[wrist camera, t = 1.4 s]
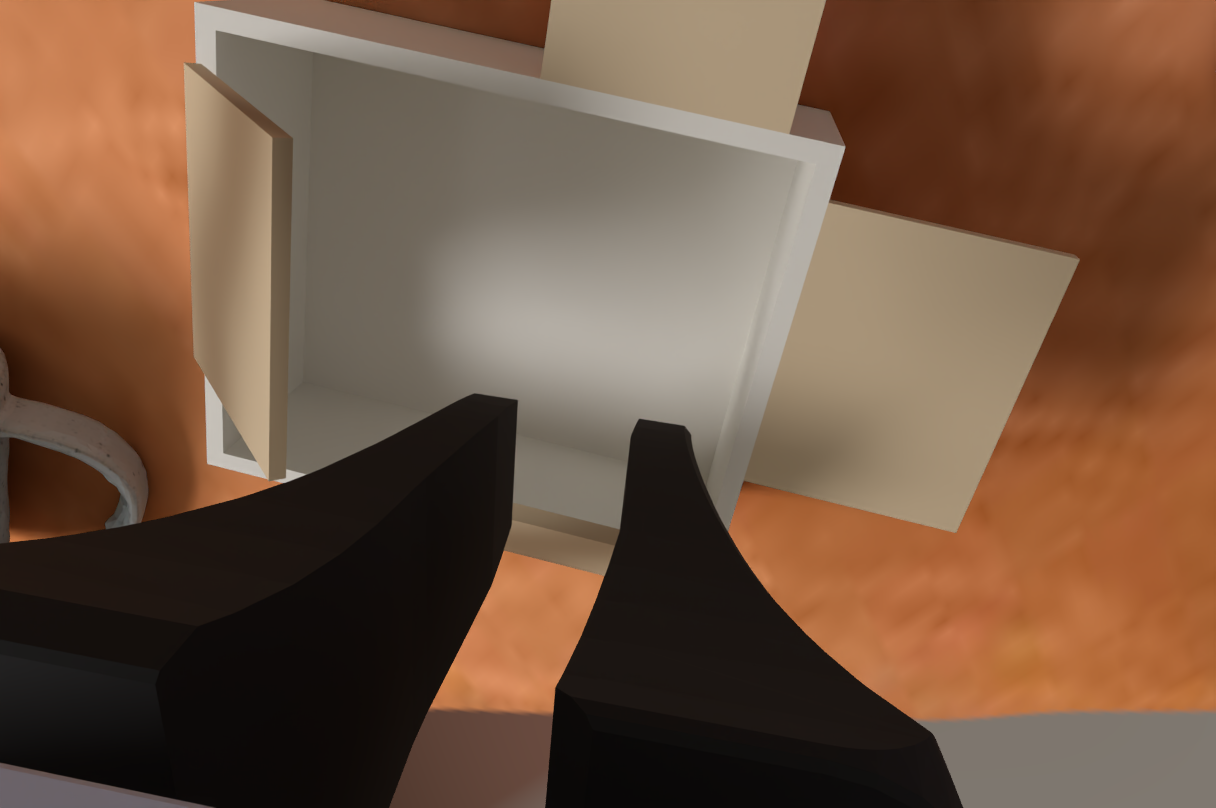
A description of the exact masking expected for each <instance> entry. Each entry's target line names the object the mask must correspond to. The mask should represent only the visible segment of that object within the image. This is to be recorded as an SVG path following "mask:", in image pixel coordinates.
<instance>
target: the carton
mask: <svg viewBox="0 0 1216 808" xmlns="http://www.w3.org/2000/svg"><path fill="white" fill-rule="evenodd" d="M825 2H826V0H551V7H550V14H549V21H548V28H547V34H546V41H545V48H539V47H535V46H530V45H526V44H521V43H517V42H512V41H508V40H503V39H499V38H494V37H489V36H485V35H480V34H476V33H471V32H467V31H462V30H458V29H453V28H449V27H444V26H439V25H435V24H430V23H426V22H421V21H417V20H412V19H408V18H403V17H399V16H394V15H389V14H385V13H380V12H376V11H371V10H367V9H362V8H358V7H353V6H349V5H344V4H339V3H335V2H330V1H326V0H221V1H204V2H194V8H195V44H196V63H198V64H202V65H203V66H205V67H206V68H207V69H208V70H210V71H211V72H212V73H213V74H215V75H216V76H217V77H218V78H219V79H221V80H222V81H223V82H224V83H226V84H227V85H228V86H229V87H231V88H232V89H233V90H234V91H235V92H237V93H238V94H239V95H240V96H242V97H243V98H244V99H245V100H247V101H248V102H249V103H250V104H252V105H253V106H254V107H255V108H256V109H258V110H259V111H260V112H261V113H263V114H264V115H265V116H266V117H268V118H269V119H270V120H271V121H272V122H274V123H275V124H276V125H277V126H279V127H280V128H281V129H282V130H284V131H285V132H286V133H287V134H288V135H290V136H291V137H292V138H293V169H292V217H291V264H290V312H289V359H288V407H287V454H286V478H284V479H279V480H273V481H277V482H281V483H286V482H289V481H291V480H294V479H296V478H299V477H302V476H304V475H307V474H309V473H312V472H314V471H317V470H319V469H322V468H324V467H326V466H328V465H330V464H333V463H335V462H337V461H339V460H341V459H343V458H346V457H348V456H350V455H352V454H354V453H356V452H359V451H361V450H363V449H365V448H367V447H369V446H372V445H374V444H376V443H378V442H380V441H382V440H384V439H386V438H388V437H390V436H392V435H394V434H396V433H397V432H399V431H401V430H403V429H405V428H407V427H409V426H411V425H413V424H415V423H417V422H418V421H420V420H422V419H424V418H426V417H428V416H430V415H432V414H433V413H435V412H437V411H439V410H441V409H443V408H445V407H446V406H448V405H450V404H452V403H454V402H456V401H458V400H460V399H462V398H464V397H466V396H469V395H471V394H474V393H477V394H483V395H490V396H496V397H503V398H509V399H516V400H518V409H517V429H516V449H515V469H514V490H513V503H517V504H521V505H525V506H529V507H533V508H537V509H541V510H545V511H549V512H553V513H557V514H561V515H565V516H569V517H573V518H577V519H581V520H585V521H589V522H592V523H596V524H600V525H604V526H608V527H612V528H616V529H620V524H621V515H622V507H623V498H624V490H625V481H626V472H627V464H628V455H629V447H630V438H631V434H632V432H633V430H634V427H635V425H636V423H637V421H638V419H645V420H652V421H658V422H664V423H671V424H677V425H684V426H685V427H686V428H687V430H688V431H689V432H690V434H691V440H692V446H693V451H694V455H695V458H696V461H697V464H698V467H699V470H700V473H701V476H702V478H703V481H704V484H705V486H706V488H707V490H708V493H709V495H710V497H711V499H712V501H713V504H714V506H715V508H716V510H717V512H718V514H719V516H720V518H721V520H722V522H723V524H724V526H725V528H726V529H727V531H728V529H729V526H730V523H731V520H732V516H733V513H734V510H735V507H736V503H737V500H738V497H739V494H740V490H741V487H742V484H743V481H747V482H751V483H755V484H759V485H763V486H767V487H771V488H775V489H779V490H783V491H787V492H792V493H796V494H800V495H804V496H808V497H812V498H816V499H820V500H824V501H828V502H832V503H836V504H840V505H845V506H849V507H853V508H857V509H861V510H865V511H869V512H873V513H877V514H881V515H885V516H889V517H893V518H897V519H902V520H906V521H910V522H914V523H918V524H922V525H926V526H930V527H934V528H938V529H942V530H946V531H950V532H955V533H956V532H957V530H958V527H959V525H960V523H961V521H962V519H963V516H964V514H965V512H966V510H967V508H968V505H969V503H970V501H971V499H972V497H973V494H974V492H975V490H976V488H977V486H978V483H979V481H980V479H981V477H982V475H983V472H984V470H985V468H986V466H987V464H988V461H989V459H990V457H991V455H992V452H993V450H994V448H995V446H996V444H997V441H998V439H999V437H1000V435H1001V433H1002V430H1003V428H1004V426H1005V424H1006V422H1007V419H1008V417H1009V415H1010V413H1011V411H1012V408H1013V406H1014V404H1015V402H1016V400H1017V397H1018V395H1019V393H1020V391H1021V389H1022V386H1023V384H1024V382H1025V380H1026V377H1027V375H1028V373H1029V371H1030V369H1031V366H1032V364H1033V362H1034V360H1035V358H1036V355H1037V353H1038V351H1039V349H1040V347H1041V344H1042V342H1043V340H1044V338H1045V336H1046V333H1047V331H1048V329H1049V327H1050V325H1051V322H1052V320H1053V318H1054V316H1055V314H1056V311H1057V309H1058V307H1059V305H1060V302H1061V300H1062V298H1063V296H1064V294H1065V291H1066V289H1067V287H1068V285H1069V283H1070V280H1071V278H1072V276H1073V274H1074V272H1075V269H1076V267H1077V265H1078V263H1079V261H1080V259H1079V258H1078V257H1077V256H1076V255H1074V254H1070V253H1065V252H1061V251H1056V250H1052V249H1047V248H1043V247H1039V246H1034V245H1030V244H1025V243H1021V242H1016V241H1012V240H1007V239H1003V238H999V237H994V236H990V235H985V234H981V233H976V232H972V231H968V230H963V229H959V228H954V227H950V226H945V225H941V224H937V223H932V222H928V221H923V220H919V219H914V218H910V217H906V216H901V215H897V214H892V213H888V212H883V211H879V210H875V209H870V208H866V207H861V206H857V205H852V204H848V203H844V202H839V201H835V200H830V196H831V193H832V190H833V186H834V183H835V180H836V177H837V173H838V170H839V167H840V164H841V160H842V157H843V154H844V151H845V147H846V146H845V144H844V142H843V140H842V137H841V135H840V133H839V131H838V129H837V126H836V124H835V122H834V120H833V117H832V115H831V113H830V111H826V110H821V109H817V108H812V107H808V106H803V105H798V100H799V97H800V93H801V89H802V86H803V82H804V79H805V75H806V71H807V68H808V64H809V60H810V57H811V53H812V50H813V46H814V42H815V39H816V35H817V31H818V28H819V24H820V20H821V17H822V13H823V10H824V6H825ZM205 405H206V441H207V464H210V465H214V466H218V467H222V468H226V469H230V470H234V471H238V472H242V473H246V474H250V475H253V476H257V477H261V478H265V479H267V478H266V476H265V474H264V473H263V471H262V469H261V468H260V466H259V464H258V463H257V461H256V459H255V458H254V456H253V454H252V453H251V451H250V449H249V448H248V446H247V444H246V443H245V441H244V439H243V438H242V436H241V434H240V433H239V431H238V429H237V428H236V426H235V424H234V423H233V421H232V419H231V418H230V416H229V414H228V413H227V411H226V409H225V408H224V406H223V404H222V403H221V401H220V399H219V398H218V396H217V394H216V393H215V391H214V389H213V388H212V386H211V385H210V383H209V381H208V380H207V378H206V376H205Z"/></svg>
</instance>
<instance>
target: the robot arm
mask: <svg viewBox="0 0 1216 808" xmlns="http://www.w3.org/2000/svg"><path fill="white" fill-rule="evenodd" d="M517 409H518V400H516V399H509V398H503V397H496V396H490V395H483V394H477V393H474V394H471V395H469V396H466V397H464V398H462V399H460V400H458V401H456V402H454V403H452V404H450V405H448V406H446V407H445V408H443V409H441V410H439V411H437V412H435V413H433V414H432V415H430V416H428V417H426V418H424V419H422V420H420V421H418V422H417V423H415V424H413V425H411V426H409V427H407V428H405V429H403V430H401V431H399V432H397V433H396V434H394V435H392V436H390V437H388V438H386V439H384V440H382V441H380V442H378V443H376V444H374V445H372V446H369V447H367V448H365V449H363V450H361V451H359V452H356V453H354V454H352V455H350V456H348V457H346V458H343V459H341V460H339V461H337V462H335V463H333V464H330V465H328V466H326V467H324V468H322V469H319V470H317V471H314V472H312V473H309V474H307V475H304V476H302V477H299V478H296V479H294V480H291V481H289V482H286V483H283V484H280V485H277V486H274V487H271V488H268V489H265V490H262V491H259V492H257V493H254V494H250V495H247V496H244V497H241V498H238V499H234V500H230V501H226V502H222V503H219V504H215V505H211V506H207V507H203V508H200V509H196V510H192V511H188V512H185V513H181V514H177V515H173V516H169V517H165V518H161V519H156V520H151V521H146V522H141V523H136V524H131V525H126V526H121V527H116V528H110V529H104V530H98V531H92V532H86V533H80V534H74V535H67V536H60V537H53V538H46V539H37V540H28V541H19V542H10V543H0V808H389V806H390V803H391V801H392V798H393V795H394V793H395V790H396V787H397V785H398V782H399V780H400V777H401V774H402V772H403V769H404V766H405V764H406V761H407V758H408V755H409V753H410V751H411V748H412V745H413V743H414V740H415V738H416V736H417V734H418V732H419V729H420V727H421V725H422V723H423V721H424V718H425V716H426V714H427V712H428V710H429V708H430V706H431V704H432V702H433V700H434V698H435V696H436V694H437V692H438V690H439V688H440V686H441V684H442V682H443V680H444V679H445V677H446V675H447V673H448V671H449V669H450V667H451V665H452V663H453V661H454V659H455V657H456V655H457V653H458V651H459V649H460V647H461V645H462V643H463V641H464V639H465V637H466V635H467V633H468V631H469V629H470V627H471V625H472V623H473V621H474V619H475V617H476V615H477V613H478V611H479V609H480V607H481V605H482V603H483V601H484V599H485V597H486V595H487V593H488V591H489V589H490V587H491V585H492V582H493V580H494V577H495V574H496V571H497V568H498V565H499V563H500V560H501V557H502V554H503V551H504V548H505V545H506V542H507V539H508V536H509V532H510V529H511V526H512V510H513V490H514V469H515V449H516V429H517ZM545 808H963V806H962V804H961V801H960V799H959V796H958V794H957V791H956V788H955V785H954V783H953V781H952V778H951V775H950V773H949V771H948V768H947V766H946V763H945V761H944V758H943V756H942V753H941V751H940V748H939V746H938V744H937V741H936V739H935V737H934V735H933V734H932V733H931V732H930V731H928V730H927V729H926V728H924V727H923V726H921V725H920V724H919V723H917V722H916V721H914V720H913V719H911V718H910V717H909V716H907V715H906V714H904V713H903V712H902V711H900V710H899V709H897V708H896V707H894V706H893V705H892V704H890V703H889V702H887V701H886V700H885V699H883V698H882V697H880V696H879V695H877V694H876V693H875V692H873V691H872V690H870V689H869V688H868V687H866V686H865V685H864V684H862V683H861V682H860V681H859V680H857V679H856V678H855V677H854V676H853V675H851V674H850V673H849V672H848V671H847V670H846V669H844V668H843V667H842V666H841V665H840V664H839V663H837V662H836V661H835V660H834V659H833V658H831V657H830V656H829V655H828V654H827V653H826V652H824V651H823V650H822V649H821V648H820V647H819V646H818V645H817V644H816V643H815V642H814V641H813V640H812V639H811V638H810V637H809V636H807V635H806V634H805V633H804V631H803V630H802V629H801V628H800V627H799V626H798V625H797V624H796V623H795V622H794V621H793V620H792V619H791V618H790V617H789V616H788V615H787V613H786V612H785V611H784V610H783V609H782V608H781V607H780V606H779V605H778V604H777V603H776V602H775V600H774V599H773V598H772V597H771V596H770V594H769V593H768V592H767V591H766V589H765V588H764V586H763V585H762V584H761V582H760V581H759V580H758V578H757V577H756V576H755V574H754V573H753V572H752V570H751V569H750V567H749V566H748V564H747V563H746V561H745V560H744V558H743V557H742V555H741V553H740V552H739V550H738V549H737V547H736V545H735V543H734V542H733V540H732V538H731V536H730V535H729V533H728V531H727V529H726V528H725V526H724V524H723V522H722V520H721V518H720V516H719V514H718V512H717V510H716V508H715V506H714V504H713V501H712V499H711V497H710V495H709V493H708V490H707V488H706V486H705V484H704V481H703V478H702V476H701V473H700V470H699V467H698V464H697V461H696V458H695V455H694V451H693V446H692V440H691V434H690V432H689V431H688V430H687V428H686V427H685V426H684V425H677V424H671V423H664V422H658V421H652V420H645V419H638V421H637V423H636V425H635V427H634V430H633V432H632V434H631V438H630V447H629V455H628V464H627V472H626V481H625V490H624V498H623V507H622V515H621V524H620V531H619V535H618V538H617V541H616V544H615V547H614V550H613V553H612V556H611V559H610V562H609V565H608V568H607V571H606V574H605V576H604V579H603V582H602V585H601V588H600V590H599V593H598V596H597V599H596V601H595V604H594V606H593V609H592V611H591V613H590V616H589V618H588V621H587V623H586V626H585V628H584V631H583V633H582V636H581V638H580V640H579V642H578V644H577V646H576V648H575V650H574V652H573V654H572V656H571V659H570V661H569V663H568V665H567V667H566V669H565V671H564V673H563V675H562V677H561V678H560V680H559V682H558V684H557V686H556V688H555V700H554V712H553V724H552V735H551V747H550V759H549V771H548V782H547V795H546V806H545Z"/></svg>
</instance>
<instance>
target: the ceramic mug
mask: <svg viewBox="0 0 1216 808" xmlns="http://www.w3.org/2000/svg"><path fill="white" fill-rule="evenodd" d="M10 437H13V438H17V439H20V440H24V441H27V442H30V443H33V444H35V445H39V446H42V447H46V448H49V449H52V450H55V451H59V452H61V453H64V454H66V455H69V456H72V457H74V458H77V459H79V460H81V461H83V462H84V463H86V464H88V465H90V466H91V467H93V468H95V469H96V470H98V471H99V472H100V473H102V474H103V476H104V477H105V478H106V479H107V480H108V481H109V482H110V483H112V484H113V485H114V486H116V487H117V489H118V491H119V492H120V493H121V494H120V499H119V503H118V506H117V508H116V511H115V513H114V514H113V515H112V516H111V517H110V518H109V519H108V520H107V521H106V522H105V527H106V529H110V528H116V527H121V526H126V525H131V524H136V523H141V522H142V519H143V515H144V512H145V508H146V504H147V499H148V480H147V472H146V470H145V468H144V466H143V464H142V461H141V459H140V457H139V456H138V454H137V453H136V451H135V450H134V449H133V448H132V447H131V446H130V445H129V444H128V443H127V442H126V441H125V440H124V439H123V438H122V437H121V436H120V435H118V434H117V433H116V432H115V431H113V430H111V429H109V428H108V427H106V426H105V425H104V424H102V423H101V422H99V421H97V420H95V419H92V418H90V417H88V416H85V415H83V414H79V413H76V412H73V411H70V410H67V409H63V408H60V407H57V406H53V405H50V404H47V403H43V402H38V401H33V400H28V399H23V398H20V397H16V396H13V395H11V394H10V393H9V373H8V365H7V361H6V357H5V354H4V352H3V351H2V349H1V348H0V543H9V542H10V532H9V522H10V507H9V497H8V484H7V474H8V458H9V438H10Z"/></svg>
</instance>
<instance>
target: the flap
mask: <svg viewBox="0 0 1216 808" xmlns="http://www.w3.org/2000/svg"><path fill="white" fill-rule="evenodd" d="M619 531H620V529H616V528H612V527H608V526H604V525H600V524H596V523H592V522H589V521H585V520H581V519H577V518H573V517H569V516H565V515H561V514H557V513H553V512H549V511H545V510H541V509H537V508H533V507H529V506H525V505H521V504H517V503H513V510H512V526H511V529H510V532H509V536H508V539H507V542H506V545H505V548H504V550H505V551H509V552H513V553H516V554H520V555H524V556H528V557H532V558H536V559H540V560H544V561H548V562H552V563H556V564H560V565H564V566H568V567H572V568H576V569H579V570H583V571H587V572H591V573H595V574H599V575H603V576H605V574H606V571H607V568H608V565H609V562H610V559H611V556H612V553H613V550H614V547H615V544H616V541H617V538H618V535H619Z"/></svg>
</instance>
